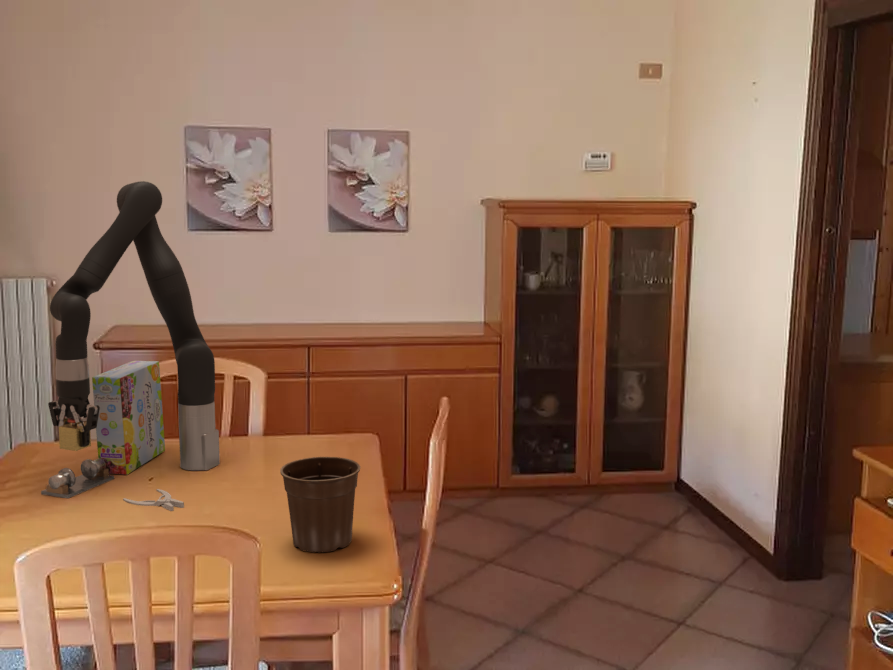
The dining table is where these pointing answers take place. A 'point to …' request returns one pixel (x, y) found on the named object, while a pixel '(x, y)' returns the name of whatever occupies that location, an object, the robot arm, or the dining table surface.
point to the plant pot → (321, 501)
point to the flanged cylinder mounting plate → (78, 479)
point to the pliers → (160, 501)
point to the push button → (71, 436)
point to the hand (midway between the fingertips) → (75, 444)
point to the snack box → (129, 415)
